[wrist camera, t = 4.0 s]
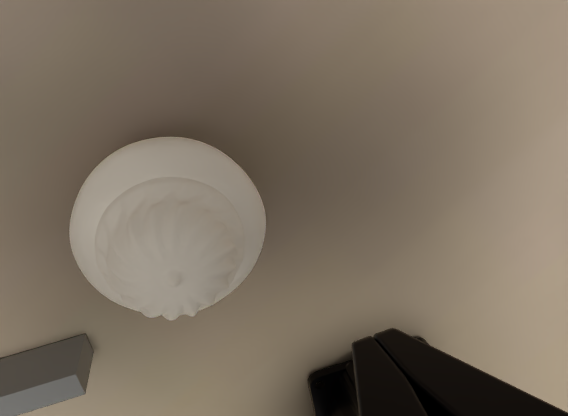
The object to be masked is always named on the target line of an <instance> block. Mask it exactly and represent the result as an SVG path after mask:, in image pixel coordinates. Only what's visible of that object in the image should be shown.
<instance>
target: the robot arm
mask: <svg viewBox="0 0 568 416" xmlns="http://www.w3.org/2000/svg"><path fill="white" fill-rule="evenodd" d="M352 355H353V360H350V361H347V362H344V363H341V364H338V365H335V366H332V367H329V368H326V369H323V370H320V371H317V372H315V373H313V374H311V375H310V377H309V379H308V385H309V390H310V395H311V399H312V404H313V409H314V413H315V416H568V413H567V412H565V411H563V410H561V409H559V408H557V407H555V406H553V405H551V404H549V403H547V402H545V401H543V400H541V399H539V398H537V397H535V396H533V395H530V394H528V393H526V392H524V391H522V390H520V389H518V388H516V387H514V386H512V385H510V384H508V383H506V382H504V381H502V380H500V379H498V378H496V377H494V376H492V375H489V374H487V373H485V372H483V371H481V370H479V369H477V368H475V367H473V366H471V365H469V364H467V363H465V362H463V361H461V360H459V359H457V358H455V357H453V356H451V355H448V354H446V353H444V352H442V351H440V350H438V349H436V348H434V347H432V346H430V345H429V344H428V343H427V342H426V340H425V339H423V338H417V339H416V338H414V337H412V336H410V335H407V334H405V333H403V332H401V331H399V330H397V329H394V328H391V329H388V330H385V331H382V332H379V333H376V334H375V335H374V336H373V337H371V336H368V337H365V338H363V339H360V340H357V341H354V342H353V343H352ZM318 381H321V382H320V383H317V382H318ZM316 383H317V384H316Z"/></svg>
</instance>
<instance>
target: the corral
mask: <svg viewBox="0 0 568 416" xmlns="http://www.w3.org/2000/svg"><path fill="white" fill-rule="evenodd" d="M93 353H94V352H93V350H92V347H91V345H90V343H89V341H88V338H87V336H86V334H83V335H80V336H76V337H73V338H69V339H66V340H63V341H59V342H56V343H52V344H49V345H46V346H42V347H39V348H35V349H32V350H29V351H25V352H22V353H18V354H15V355H12V356H8V357H5V358H2V359H0V416H17V415H20V414H23V413H26V412H30V411H33V410H36V409H39V408H42V407H46V406H49V405H52V404H55V403H58V402H62V401H65V400H68V399H71V398H74V397H78V396H81V395H84V394H85V393H86V388H87V383H88V378H89V373H90V368H91V363H92V358H93Z"/></svg>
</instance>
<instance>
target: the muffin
mask: <svg viewBox="0 0 568 416" xmlns="http://www.w3.org/2000/svg"><path fill="white" fill-rule="evenodd" d="M265 231H266V215H265V209H264V205H263V202H262V199H261V197H260V195H259V192H258V190H257V189H256V187H255V185H254V184H253V182H252V181H251V179H250V178H249V177H248V175H247V174H246V173H245V172H244V170H243V169H242V168H241V167H240V166H239V165H238V164H237V163H235V162H234V161H233V160H232V159H231V158H230V157H228V156H227V155H226V154H225V153H223V152H222V151H220V150H218V149H216V148H214V147H212V146H210V145H208V144H206V143H203V142H201V141H197V140H194V139H189V138H183V137H157V138H150V139H145V140H141V141H137V142H134V143H131V144H129V145H126V146H124V147H122V148H120V149H118V150H117V151H115V152H113V153H112V154H110V155H109V156H108V157H106V158H105V159H104V160H103V161H102V162H100V163H99V164H98V165H97V166H96V167H95V169H94V170H93V171H92V172H91V173H90V175H89V176H88V177H87V179H86V180H85V182H84V184H83V185H82V187H81V189H80V191H79V193H78V195H77V198H76V200H75V203H74V206H73V210H72V213H71V218H70V226H69V238H70V245H71V249H72V253H73V255H74V258H75V260H76V262H77V265H78V267H79V268H80V270H81V271H82V273H83V274H84V276H85V277H86V279H87V280H88V281H89V282H90V283H91V284H92V285H93V286H94V288H95V289H97V290H98V291H99V292H100V293H101V294H102V295H104V296H105V297H107V298H108V299H110V300H111V301H113V302H115V303H117V304H119V305H121V306H124V307H126V308H129V309H132V310H135V311H139V312H142V314H143V315H145V316H146V317H149V318H155V317H158V316H160V315H162V316H163V317H165V318H166V319H167V320H170V321H171V320H175V319H177V318H178V317H179V316H180V315H186V314H187V315H188V316H191V317H193V316H195V315H196V314H197V312H198V311H200V310H202V309H205V308H207V307H209V306H213V305H214V304H215V303H216V302H218V301H220V300H221V299H223V298H224V297H226V296H227V295H228V294H230V293H231V292H232V291H233V290H235V289H236V288H237V287H238V286H239V285H240V284H241V283H242V282H243V281H244V280H245V279H246V277H247V276H248V275H249V273H250V272H251V271H252V269H253V267H254V266H255V264H256V262H257V260H258V257H259V255H260V252H261V250H262V246H263V243H264V237H265Z"/></svg>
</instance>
